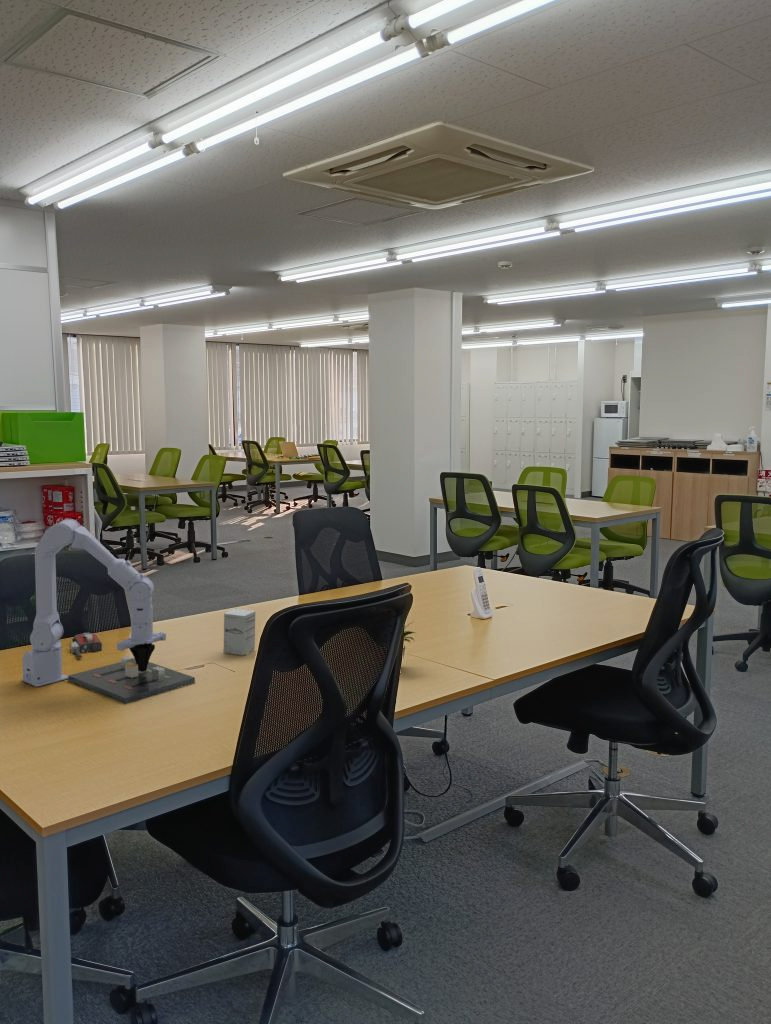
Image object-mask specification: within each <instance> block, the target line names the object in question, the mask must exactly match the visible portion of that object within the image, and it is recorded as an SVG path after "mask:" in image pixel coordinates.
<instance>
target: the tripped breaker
mask: <svg viewBox="0 0 771 1024" xmlns="http://www.w3.org/2000/svg"><path fill="white" fill-rule="evenodd" d="M125 676H128V677H131V678H133V677H137V676H138V664H135V663H132V662H130V663H127V664H125Z"/></svg>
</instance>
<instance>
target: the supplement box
mask: <svg viewBox="0 0 771 1024" xmlns="http://www.w3.org/2000/svg"><path fill="white" fill-rule="evenodd" d="M256 612H257V611H256V610H249V609H242V608H234V609H231V610H228V611H226V612H225V613H224V614H223V654H230V653H231V654H232V655H237V654H239V655H238V656H243V655H245V654H246V655H248V654H249V653H248V652H250V651H252V650H253V651H255V650H254V649H256V648H255V646H256V645H255V644H256ZM253 651H252V652H253ZM247 653H248V654H247ZM250 653H251V652H250ZM246 655H245V656H246Z"/></svg>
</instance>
